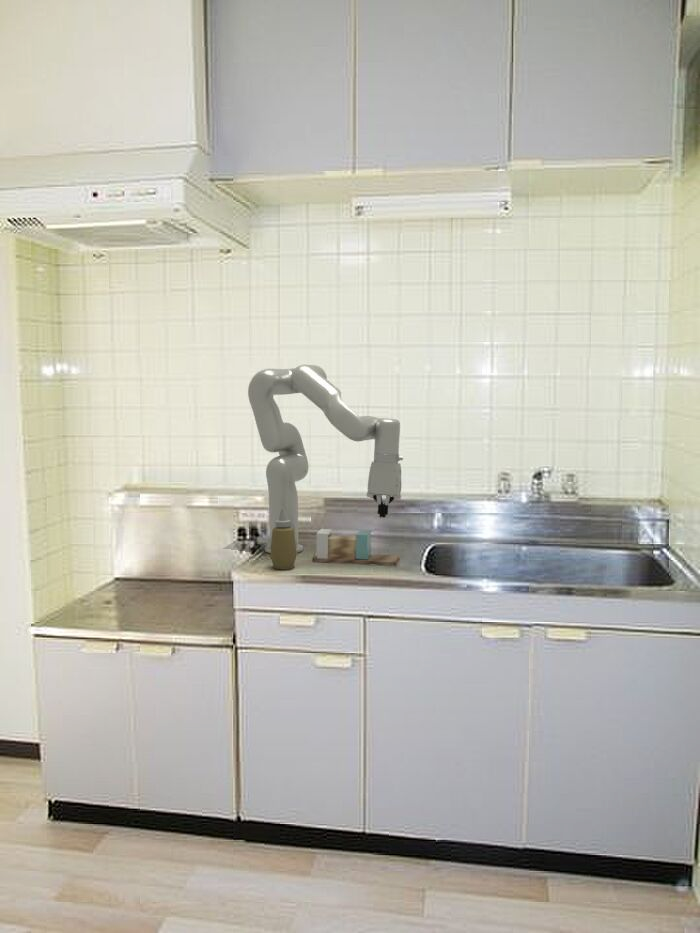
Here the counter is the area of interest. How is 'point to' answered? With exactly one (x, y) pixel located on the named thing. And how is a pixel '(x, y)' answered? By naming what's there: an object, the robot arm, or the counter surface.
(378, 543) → the counter surface
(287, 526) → the squeeze bottle
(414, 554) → the counter surface
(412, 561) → the counter surface
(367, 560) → the walnut board
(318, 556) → the grey upright block
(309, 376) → the robot arm
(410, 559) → the counter surface
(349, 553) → the light wooden block
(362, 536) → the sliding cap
